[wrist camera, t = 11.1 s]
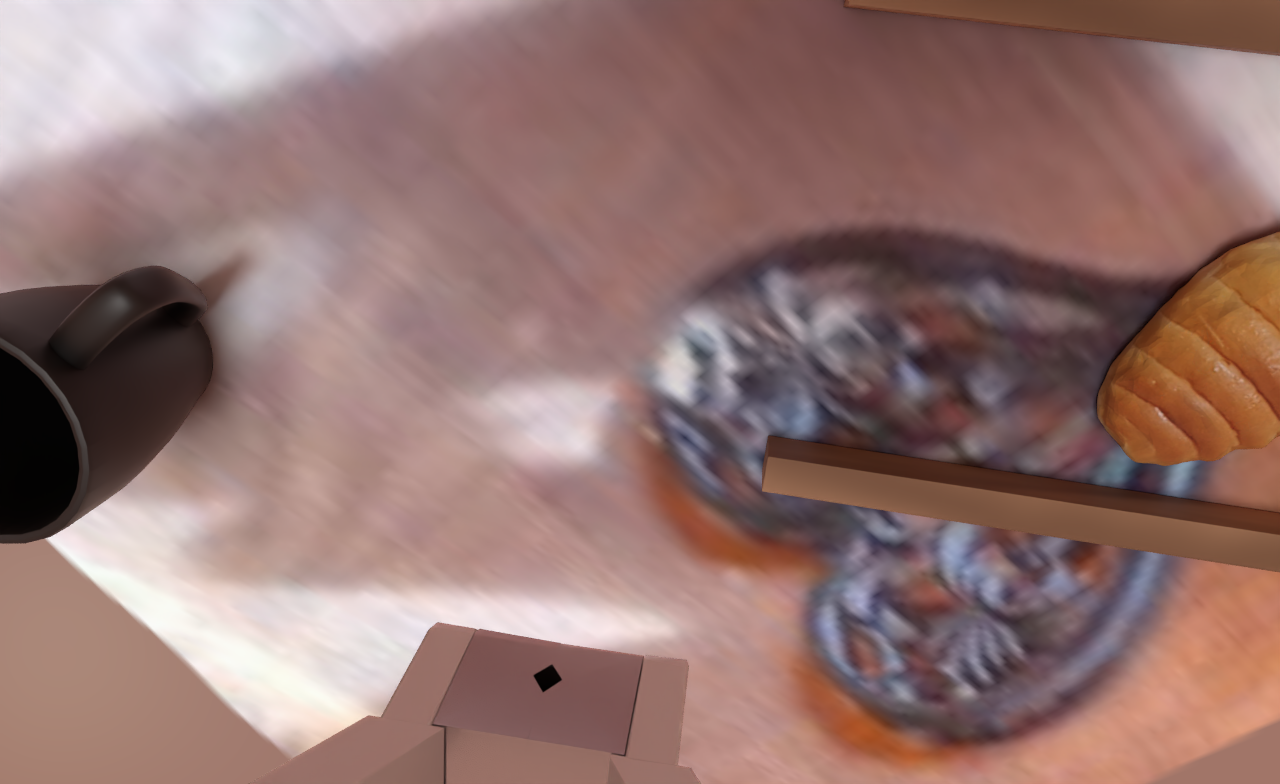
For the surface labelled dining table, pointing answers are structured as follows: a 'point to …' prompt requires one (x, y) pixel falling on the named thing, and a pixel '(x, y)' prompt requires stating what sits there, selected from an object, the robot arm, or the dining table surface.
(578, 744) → the robot arm
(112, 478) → the mug
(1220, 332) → the pastry
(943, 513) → the guide channel
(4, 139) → the dining table surface
